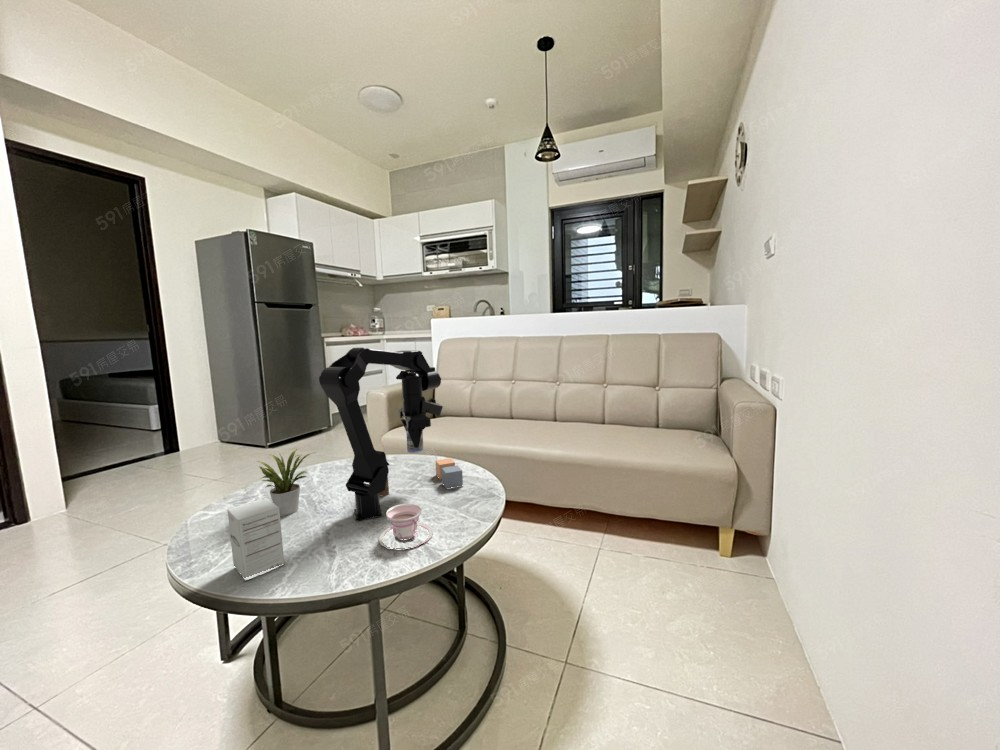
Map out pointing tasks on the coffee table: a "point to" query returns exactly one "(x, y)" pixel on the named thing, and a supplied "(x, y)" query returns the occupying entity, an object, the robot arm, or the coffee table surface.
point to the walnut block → (384, 490)
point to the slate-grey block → (452, 476)
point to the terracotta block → (443, 465)
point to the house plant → (284, 484)
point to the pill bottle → (411, 447)
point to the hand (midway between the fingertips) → (415, 445)
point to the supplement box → (256, 537)
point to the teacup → (404, 522)
